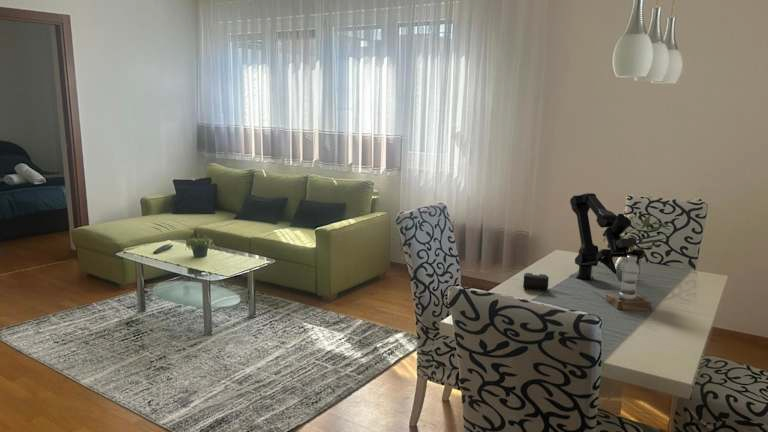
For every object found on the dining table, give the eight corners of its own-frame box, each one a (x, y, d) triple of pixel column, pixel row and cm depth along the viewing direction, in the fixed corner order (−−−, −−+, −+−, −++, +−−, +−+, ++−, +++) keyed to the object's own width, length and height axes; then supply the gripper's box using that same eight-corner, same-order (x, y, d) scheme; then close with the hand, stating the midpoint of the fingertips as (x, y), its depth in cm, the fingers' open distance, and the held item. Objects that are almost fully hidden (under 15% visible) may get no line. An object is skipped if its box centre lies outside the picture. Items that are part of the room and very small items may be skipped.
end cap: (522, 291, 243) (524, 275, 242) (522, 286, 250) (524, 271, 249) (547, 293, 241) (548, 278, 240) (546, 288, 248) (548, 273, 246)
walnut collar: (605, 300, 234) (606, 293, 234) (636, 300, 236) (636, 293, 236) (619, 310, 224) (620, 302, 224) (651, 309, 226) (652, 302, 226)
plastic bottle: (627, 307, 227) (633, 259, 223) (613, 302, 233) (619, 254, 229) (638, 305, 230) (645, 257, 226) (624, 300, 236) (630, 253, 232)
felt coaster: (592, 291, 246) (592, 290, 246) (618, 290, 248) (618, 289, 248) (607, 300, 235) (607, 299, 234) (634, 300, 236) (634, 299, 236)
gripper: (602, 229, 232) (613, 263, 224) (645, 229, 235) (658, 263, 226) (590, 244, 241) (601, 277, 233) (632, 244, 244) (644, 276, 235)
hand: (626, 273), depth 232 cm, fingers open, 9 cm apart
